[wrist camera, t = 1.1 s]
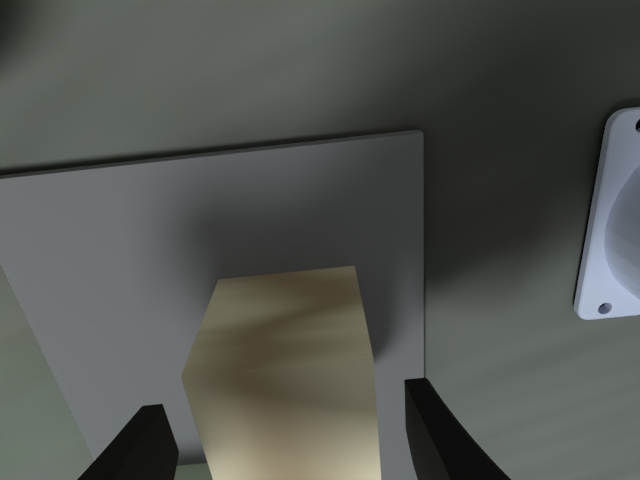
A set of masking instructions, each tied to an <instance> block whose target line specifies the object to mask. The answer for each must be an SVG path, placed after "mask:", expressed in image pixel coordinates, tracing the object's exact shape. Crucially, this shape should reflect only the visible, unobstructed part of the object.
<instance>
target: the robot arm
mask: <svg viewBox="0 0 640 480" xmlns="http://www.w3.org/2000/svg"><path fill="white" fill-rule="evenodd" d="M639 119H640V107H634V108H625V109H621V110H618V111H616V112H615V113H613V114H612V115H611V116H610V117H609V119H608V120H607V123H606V125H605V130H604V136H603V142H602V147H601V153H600V159H599V165H598V170H597V176H596V182H595V187H594V193H593V199H592V205H591V210H590V216H589V222H588V227H587V233H586V239H585V245H584V250H583V256H582V262H581V268H580V273H579V279H578V285H577V290H576V296H575V302H574V311H575V312H576V313H577V314H578V315H579V316H580V317H581V318H582V319H586V320H591V319H601V318H612V317H622V316H632V315H640V128H639V129H637V130H636V128H635V125H636V123H637V121H638V120H639ZM604 303H605V304H604ZM602 304H604V305H603V306H602V307H601V308H599V306H600V305H602ZM404 385H405V422H406V433H407V438H408V443H409V448H410V453H411V457H412V462H413V466H414V469H415V472H416V476H417V479H418V480H511V479H510V478H509V477H508V476H507V475H506V474H505V473H504V472H503V471H502V470H501V469H500V468H499V467H498V466H497V465H496V464H495V463H494V462H493V461H492V460H491V458H490V457H489V456H488V455H487V454H486V453H485V452H484V451H483V450H482V449H481V448H480V446H479V445H478V444H477V443H476V442H475V441H474V440H473V438H472V437H471V436H470V435H469V434H468V432H467V431H466V430H465V429H464V428H463V426H462V425H461V424H460V423H459V422H458V420H457V419H456V418H455V416H454V415H453V414H452V413H451V411H450V410H449V409H448V407H447V406H446V405H445V403H444V402H443V401H442V399H441V398H440V396H439V395H438V394H437V392H436V391H435V389H434V388H433V386H432V385H431V383H430V381H429V380H428V379H426V378H415V379H405V380H404ZM178 456H179V450H178V447H177V444H176V441H175V438H174V435H173V432H172V429H171V427H170V424H169V421H168V418H167V415H166V412H165V409H164V406H163V404H155V405H145V406H142V407H141V408H140V409H139V410H138V411H137V412H136V414H135V415H134V416H133V417H132V418H131V419H130V421H129V422H128V423H127V424H126V425H125V426H124V428H123V429H122V430H121V431H120V432H119V433H118V435H117V436H116V437H115V438H114V439H113V440H112V441H111V443H110V444H109V445H108V446H107V447H106V448H105V450H104V451H103V452H102V453H101V454H100V455H99V456H98V457H97V459H96V460H95V461H94V462H93V463H92V464H91V465H90V466H89V468H88V469H87V470H86V471H85V472H84V473H83V474H82V475H81V476H80V477H79V478H78V479H77V480H174V477H175V472H176V467H177V462H178Z"/></svg>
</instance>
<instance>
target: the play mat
mask: <svg viewBox="0 0 640 480" xmlns="http://www.w3.org/2000/svg"><path fill="white" fill-rule="evenodd" d="M0 264H1V266H2V268H3V270H4V272H5V274H6V276H7V279H8V281H9V283H10V285H11V287H12V289H13V291H14V293H15V295H16V297H17V300H18V302H19V304H20V306H21V308H22V310H23V312H24V314H25V316H26V318H27V321H28V323H29V325H30V327H31V329H32V331H33V333H34V335H35V337H36V339H37V342H38V344H39V346H40V348H41V350H42V352H43V354H44V356H45V358H46V360H47V363H48V365H49V367H50V369H51V371H52V373H53V375H54V377H55V379H56V381H57V384H58V386H59V388H60V390H61V392H62V394H63V396H64V398H65V400H66V402H67V405H68V407H69V409H70V411H71V413H72V415H73V417H74V419H75V421H76V423H77V426H78V428H79V430H80V432H81V434H82V436H83V438H84V440H85V442H86V444H87V447H88V449H89V451H90V453H91V455H92V457H93V459H94V461H95V460H96V459H97V457H98V456H99V455H100V454H101V453H102V452H103V451H104V450H105V448H106V447H107V446H108V445H109V444H110V443H111V441H112V440H113V439H114V438H115V437H116V436H117V435H118V433H119V432H120V431H121V430H122V429H123V428H124V426H125V425H126V424H127V423H128V422H129V421H130V419H131V418H132V417H133V416H134V415H135V414H136V412H137V411H138V410H139V409H140V408H141V407H142V406H145V405H155V404H163V406H164V409H165V412H166V415H167V418H168V421H169V424H170V427H171V429H172V432H173V435H174V438H175V441H176V444H177V447H178V450H179V456H178V462H177V466H180V465H191V464H202V463H208V462H207V459H206V456H205V453H204V450H203V446H202V443H201V440H200V437H199V434H198V431H197V427H196V424H195V421H194V418H193V415H192V411H191V408H190V405H189V402H188V399H187V396H186V392H185V389H184V386H183V383H182V380H181V374H182V372H183V369H184V367H185V364H186V362H187V359H188V356H189V354H190V351H191V349H192V346H193V343H194V341H195V338H196V336H197V333H198V331H199V328H200V325H201V323H202V320H203V318H204V315H205V313H206V310H207V307H208V305H209V302H210V300H211V297H212V294H213V292H214V289H215V287H216V284H217V282H218V279H227V278H237V277H247V276H257V275H267V274H276V273H286V272H296V271H306V270H316V269H325V268H335V267H345V266H355V269H356V274H357V279H358V284H359V289H360V294H361V299H362V304H363V309H364V314H365V319H366V324H367V329H368V334H369V339H370V344H371V349H372V354H373V360H374V375H375V390H376V406H377V421H378V436H379V452H380V467H381V480H418V479H417V476H416V472H415V469H414V466H413V462H412V457H411V453H410V448H409V443H408V438H407V433H406V422H405V385H404V380H405V379H415V378H424V136H423V132H422V131H420V130H419V129H418V130H409V131H400V132H391V133H382V134H373V135H363V136H354V137H345V138H336V139H327V140H318V141H309V142H299V143H290V144H281V145H272V146H263V147H254V148H245V149H235V150H226V151H217V152H208V153H199V154H190V155H181V156H172V157H162V158H153V159H144V160H135V161H126V162H117V163H108V164H98V165H89V166H80V167H71V168H62V169H53V170H44V171H34V172H25V173H16V174H7V175H0Z"/></svg>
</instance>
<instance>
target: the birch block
mask: <svg viewBox="0 0 640 480" xmlns="http://www.w3.org/2000/svg"><path fill="white" fill-rule="evenodd" d="M181 380H182V383H183V386H184V389H185V392H186V396H187V399H188V402H189V405H190V408H191V411H192V415H193V418H194V421H195V424H196V427H197V431H198V434H199V437H200V440H201V443H202V446H203V450H204V453H205V456H206V459H207V462H208V466H209V469H210V472H211V475H212V478H213V480H381V467H380V452H379V436H378V421H377V406H376V390H375V375H374V360H373V354H372V349H371V344H370V339H369V334H368V329H367V324H366V319H365V314H364V309H363V304H362V299H361V294H360V289H359V284H358V279H357V274H356V269H355V266H345V267H335V268H325V269H316V270H306V271H296V272H286V273H276V274H267V275H257V276H247V277H237V278H227V279H218V282H217V284H216V287H215V289H214V292H213V294H212V297H211V300H210V302H209V305H208V307H207V310H206V313H205V315H204V318H203V320H202V323H201V325H200V328H199V331H198V333H197V336H196V338H195V341H194V343H193V346H192V349H191V351H190V354H189V356H188V359H187V362H186V364H185V367H184V369H183V372H182V374H181Z"/></svg>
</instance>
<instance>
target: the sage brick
mask: <svg viewBox="0 0 640 480" xmlns="http://www.w3.org/2000/svg"><path fill="white" fill-rule="evenodd" d="M174 480H213V478H212V475H211V472H210V469H209V466H208V463H202V464H191V465H180V466H177V467H176V472H175V477H174Z"/></svg>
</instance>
